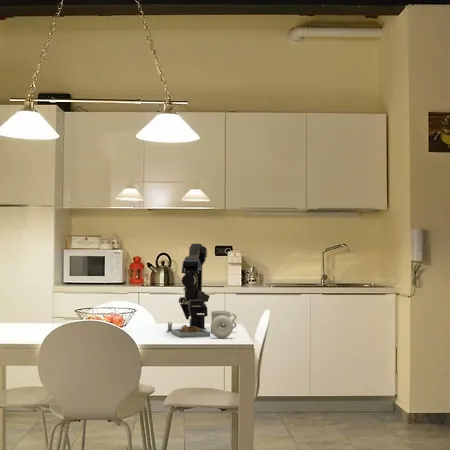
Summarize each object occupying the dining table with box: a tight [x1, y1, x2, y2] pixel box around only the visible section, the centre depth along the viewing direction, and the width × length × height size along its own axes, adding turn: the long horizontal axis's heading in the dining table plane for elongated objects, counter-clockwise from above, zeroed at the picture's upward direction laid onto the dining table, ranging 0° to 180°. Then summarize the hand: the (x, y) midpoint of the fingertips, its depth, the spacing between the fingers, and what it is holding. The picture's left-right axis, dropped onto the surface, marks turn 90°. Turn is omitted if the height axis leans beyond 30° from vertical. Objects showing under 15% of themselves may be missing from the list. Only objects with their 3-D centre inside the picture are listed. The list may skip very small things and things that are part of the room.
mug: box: [210, 310, 237, 333], centre depth 314 cm, size 12×9×10 cm
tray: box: [170, 328, 211, 338], centre depth 303 cm, size 14×14×2 cm
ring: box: [181, 324, 199, 333], centre depth 303 cm, size 6×6×4 cm
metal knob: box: [166, 321, 173, 333], centre depth 313 cm, size 3×3×4 cm
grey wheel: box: [210, 315, 234, 339], centre depth 294 cm, size 10×4×10 cm, turn 87°
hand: (190, 320), depth 303 cm, fingers open, 9 cm apart
